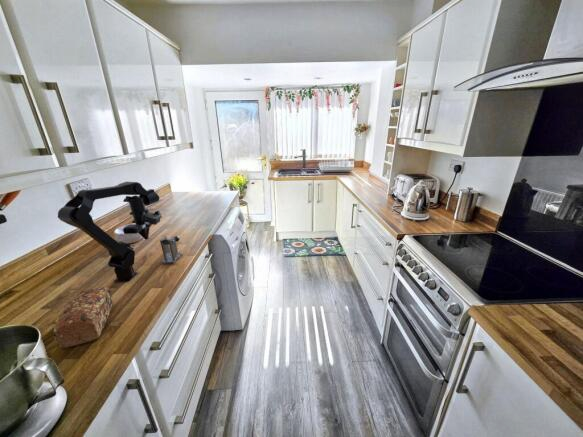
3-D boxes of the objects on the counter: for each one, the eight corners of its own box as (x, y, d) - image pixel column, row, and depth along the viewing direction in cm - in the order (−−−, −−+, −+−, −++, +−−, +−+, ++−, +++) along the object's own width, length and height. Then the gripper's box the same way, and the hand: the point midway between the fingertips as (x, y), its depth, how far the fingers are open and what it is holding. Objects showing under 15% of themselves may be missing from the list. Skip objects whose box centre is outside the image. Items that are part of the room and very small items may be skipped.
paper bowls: (125, 248, 133) (121, 235, 130) (112, 242, 140) (108, 230, 138) (152, 237, 145) (149, 225, 142) (139, 232, 152) (135, 221, 150)
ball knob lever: (175, 241, 126) (174, 235, 126) (180, 241, 126) (180, 235, 126) (163, 245, 115) (163, 239, 115) (169, 245, 115) (169, 239, 115)
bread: (101, 339, 75) (90, 315, 71) (58, 351, 71) (44, 326, 68) (116, 302, 91) (108, 280, 88) (82, 310, 88) (72, 288, 84)
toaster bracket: (170, 254, 124) (165, 234, 120) (182, 254, 124) (177, 234, 120) (161, 264, 116) (156, 242, 112) (173, 264, 116) (168, 242, 112)
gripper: (143, 215, 101) (152, 248, 106) (165, 202, 118) (172, 230, 124) (117, 216, 101) (127, 248, 107) (143, 202, 118) (151, 231, 124)
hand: (146, 239), depth 115 cm, fingers closed
